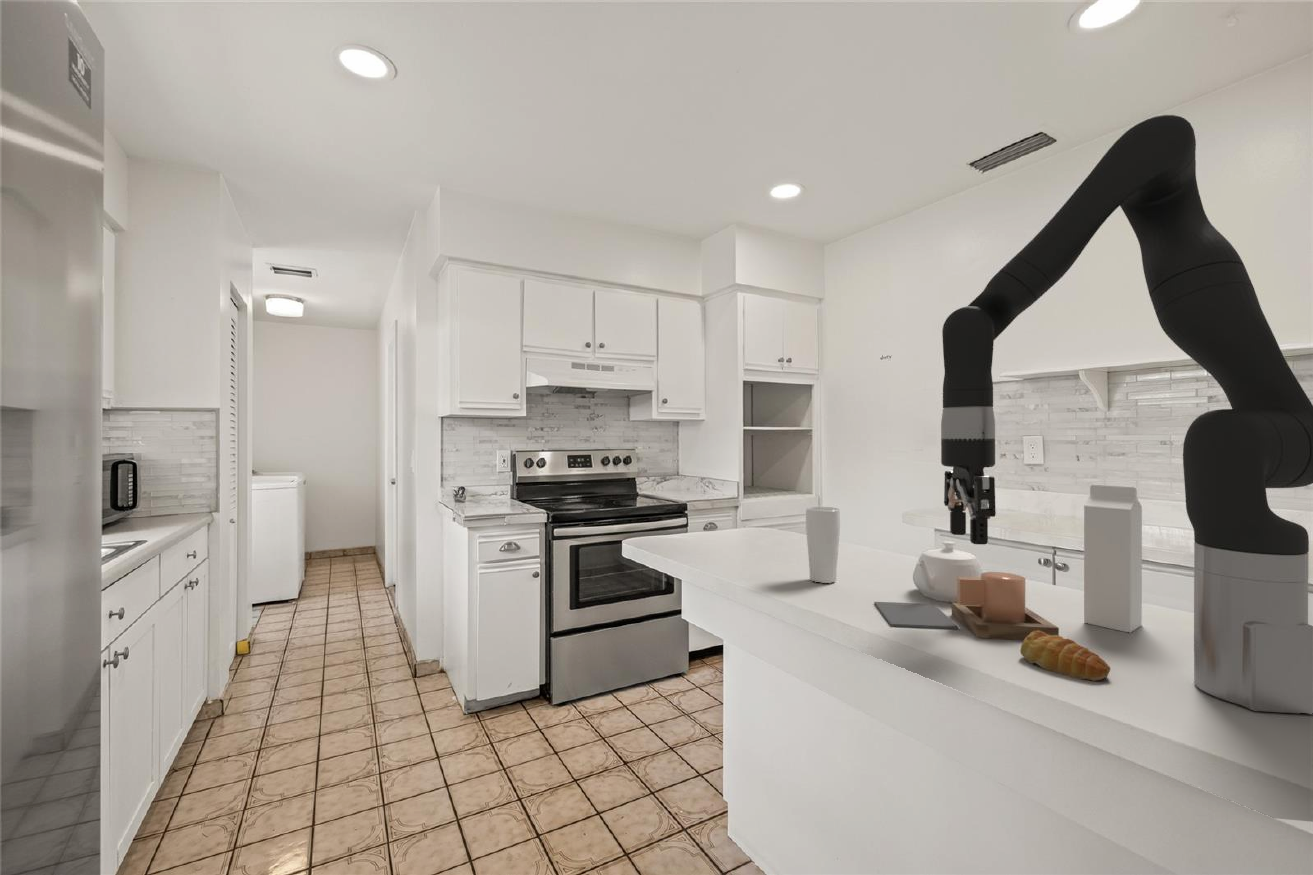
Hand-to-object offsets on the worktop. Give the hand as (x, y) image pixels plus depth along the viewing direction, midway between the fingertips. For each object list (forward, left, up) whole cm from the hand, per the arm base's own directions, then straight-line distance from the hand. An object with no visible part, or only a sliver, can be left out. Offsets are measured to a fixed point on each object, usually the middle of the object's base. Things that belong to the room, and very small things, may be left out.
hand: (967, 539), depth 91 cm
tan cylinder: (0, -3, -14) cm, 14 cm away
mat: (+4, +7, -14) cm, 16 cm away
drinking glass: (+25, +19, -14) cm, 35 cm away
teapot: (+17, -3, -14) cm, 22 cm away
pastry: (-14, -6, -14) cm, 21 cm away
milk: (+4, -23, -14) cm, 27 cm away
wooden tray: (0, -5, -14) cm, 15 cm away
